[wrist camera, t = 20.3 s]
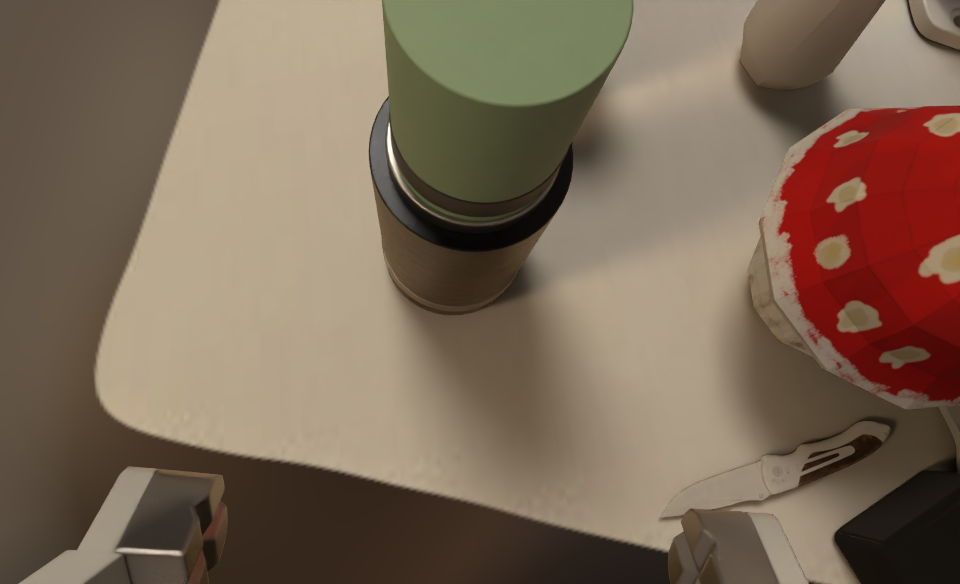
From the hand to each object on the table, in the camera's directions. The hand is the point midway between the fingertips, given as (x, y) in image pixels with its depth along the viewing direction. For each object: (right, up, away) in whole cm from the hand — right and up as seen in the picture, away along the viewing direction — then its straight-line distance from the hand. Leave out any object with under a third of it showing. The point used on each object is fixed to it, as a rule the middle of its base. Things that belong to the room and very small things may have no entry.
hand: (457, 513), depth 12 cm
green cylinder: (0, +9, +11) cm, 14 cm away
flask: (-1, +6, +24) cm, 25 cm away
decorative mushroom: (+19, +4, +26) cm, 32 cm away
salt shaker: (+18, +18, +29) cm, 38 cm away
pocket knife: (+16, -4, +23) cm, 28 cm away
